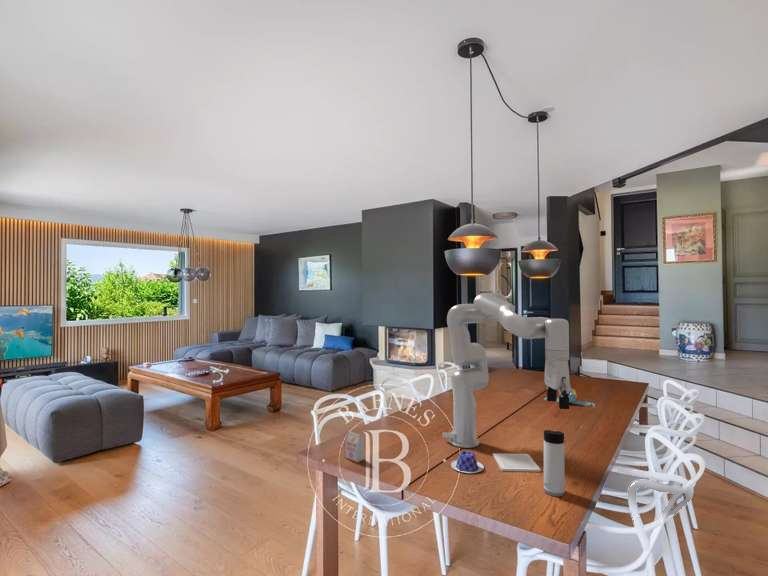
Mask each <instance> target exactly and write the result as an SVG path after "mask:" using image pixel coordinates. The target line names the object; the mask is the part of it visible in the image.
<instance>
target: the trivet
mask: <svg viewBox="0 0 768 576" xmlns="http://www.w3.org/2000/svg"><path fill="white" fill-rule="evenodd" d="M492 457H493V458H494V460H495V462H496V464H497V465H498V467H499V469H500V471H502V472H529V473H531V472H533V473H535V472H542V469H541V468H540V466H539V465H537V463H536V462H535V461H534V460H533V458H532V457H531V455H530V454H529V453H494V452H493V453H492Z"/></svg>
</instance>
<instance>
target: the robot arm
mask: <svg viewBox="0 0 768 576" xmlns="http://www.w3.org/2000/svg"><path fill="white" fill-rule="evenodd" d="M515 311H516V308H515V305H514V304H513V303H512V302H509V301H507V298H506V297H505V296H504V295H503V294H501V293H499V292H482V293H480V294H478V295H476V297H475V298H474V299H473V303H461V304H460V303H459V304H456V305H454V306H452V307H451V308H450V309H449V310H448V312H447V316H446V323H447V327H448V333H449V336H450V338H449V339H450V348H451V357H452V362H453V364H454V365H455V366H458V367H465V366H466V367H467V366H469V367H470V368H463V369H459V370H456V371H455V372H453V374H452V375H451V377H450V385H451V389H452V399H453V404H452V405H453V412H452V413H453V417H452V418H453V429H451V431H449V432H442V438H445V439H446V440H447V439H449V443H450V444H451V445H452V446H454V447H458V448H461V449H462V448H463V449H472V448H476V447H478V446H480V440H479V438H477V426H476V425H477V423H476V421H477V413H476V412H477V401H476V398H475V396H474V394H473V391H478V390H483V389H484V388H486V387H487V386H488V384H489V381H490V380H489V378H490V375H489V368H488V367H489V366H488V360H487V352H486V350H485V348H484V347H483V345H481V344H480V343H477V342H471V335H470V331H469V330H468V327H467V326H466V324H479V323H484V322H486V321H487V322H488V320H491V319H493V320H495V321H496V322H499V323H500V324H501V326H502V327H503V328H504V330H506V331H507V332H508V333H510V334H512V335H515V336H517V337H518V338H521V339H524V340H530V339H531V340H534V339H544V342H545V343H544V348H545V349H544V350H545V351H544V354H545V355H544V356H545V361H544V362H545V363H544V364H545V365H544V384H545V386H546V397H547V400H546V401H547V402H557V398H559V402H558V408H559V409H560V410H569V409H570V403H569V397H570V389H571V388H572V387H571V384H570V368H569V360H570V326H569V325H570V324H569V321H568V320H567V319H565V318H549V317H544V316H537V317H536V316H533V317H532V316H531V317H530V316H529V317H526V316H522V315H520V314H518V313H516V312H515ZM557 391H558V394H559V396H558V395H557ZM562 392H563V393H562Z"/></svg>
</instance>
